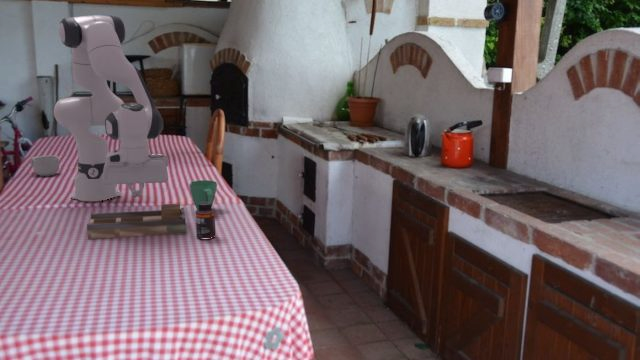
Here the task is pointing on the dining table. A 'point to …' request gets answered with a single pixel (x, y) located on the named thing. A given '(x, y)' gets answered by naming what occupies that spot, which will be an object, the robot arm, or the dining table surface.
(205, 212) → the supplement bottle
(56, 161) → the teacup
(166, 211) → the block
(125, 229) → the wooden compartment tray
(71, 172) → the dining table surface
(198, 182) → the mug
